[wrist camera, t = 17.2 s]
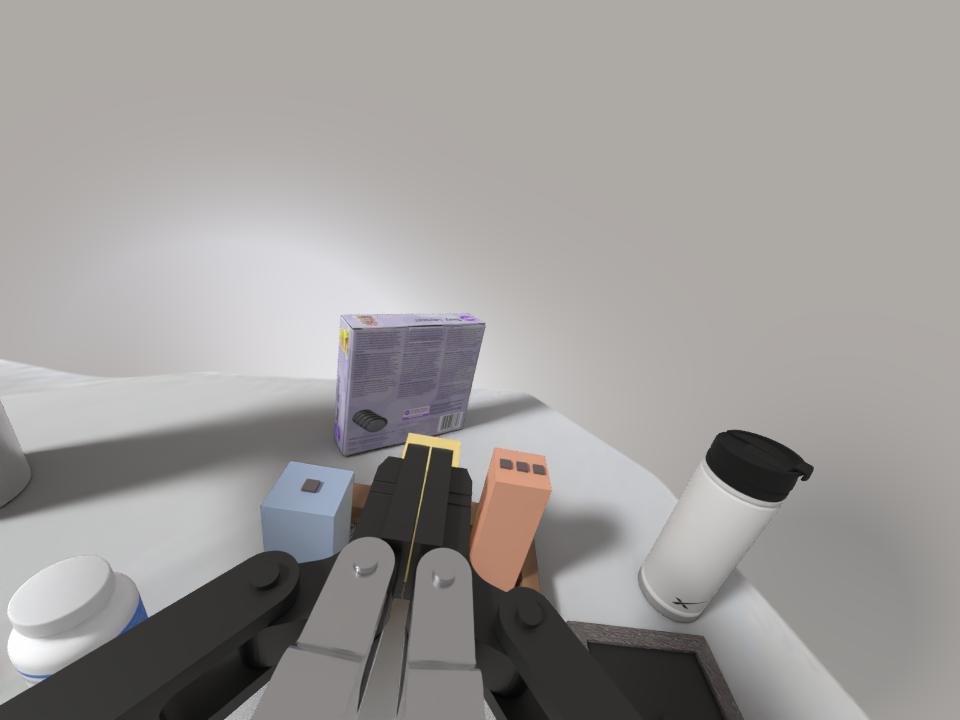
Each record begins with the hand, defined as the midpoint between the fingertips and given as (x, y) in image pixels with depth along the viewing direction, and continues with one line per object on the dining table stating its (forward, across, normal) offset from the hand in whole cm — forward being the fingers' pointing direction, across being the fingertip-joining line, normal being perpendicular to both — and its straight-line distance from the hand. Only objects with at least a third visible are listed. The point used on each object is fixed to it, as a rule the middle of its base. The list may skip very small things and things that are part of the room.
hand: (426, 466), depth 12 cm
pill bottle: (+3, +19, +26) cm, 32 cm away
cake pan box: (+34, +4, +26) cm, 43 cm away
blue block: (+9, +8, +26) cm, 29 cm away
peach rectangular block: (+14, -8, +26) cm, 31 cm away
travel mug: (+15, -27, +26) cm, 41 cm away
